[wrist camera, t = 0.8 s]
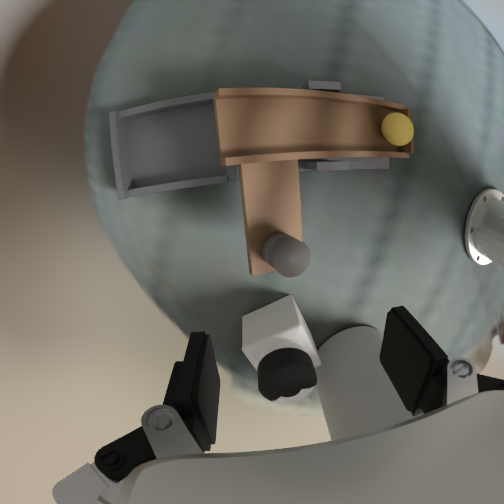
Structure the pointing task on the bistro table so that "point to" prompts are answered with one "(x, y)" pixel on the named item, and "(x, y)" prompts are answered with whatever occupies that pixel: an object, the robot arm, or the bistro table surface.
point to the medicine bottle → (281, 351)
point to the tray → (166, 146)
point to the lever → (291, 157)
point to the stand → (339, 163)
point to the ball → (397, 129)
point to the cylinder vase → (356, 384)
